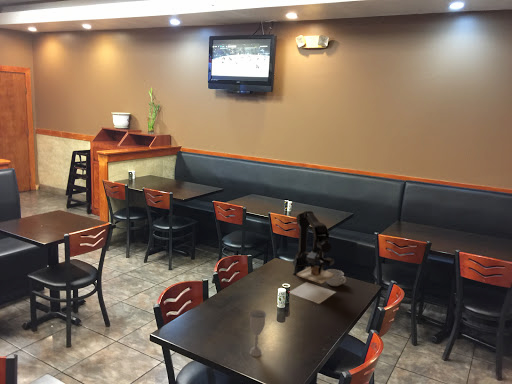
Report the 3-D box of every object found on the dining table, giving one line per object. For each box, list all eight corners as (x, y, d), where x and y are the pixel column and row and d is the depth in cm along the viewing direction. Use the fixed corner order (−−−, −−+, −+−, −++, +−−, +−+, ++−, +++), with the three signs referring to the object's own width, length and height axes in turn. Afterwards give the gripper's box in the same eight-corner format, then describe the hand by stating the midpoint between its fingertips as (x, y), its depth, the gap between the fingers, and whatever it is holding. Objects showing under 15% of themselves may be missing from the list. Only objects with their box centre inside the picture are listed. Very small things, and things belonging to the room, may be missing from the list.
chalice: (263, 348, 178) (266, 310, 175) (264, 357, 171) (267, 318, 168) (246, 348, 178) (248, 309, 174) (247, 357, 171) (249, 317, 168)
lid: (296, 275, 233) (297, 267, 232) (310, 267, 246) (311, 259, 245) (321, 283, 224) (322, 275, 223) (334, 275, 236) (335, 267, 235)
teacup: (321, 281, 252) (322, 269, 250) (335, 279, 256) (337, 267, 255) (334, 291, 239) (336, 278, 238) (349, 288, 244) (351, 276, 242)
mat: (288, 292, 234) (288, 292, 234) (306, 282, 250) (306, 281, 249) (319, 304, 222) (319, 303, 222) (336, 292, 238) (336, 292, 238)
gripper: (296, 245, 231) (294, 271, 234) (326, 254, 220) (323, 281, 223) (306, 241, 239) (304, 266, 243) (335, 249, 228) (333, 275, 231)
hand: (316, 272), depth 235 cm, fingers closed on lid, 4 cm apart
